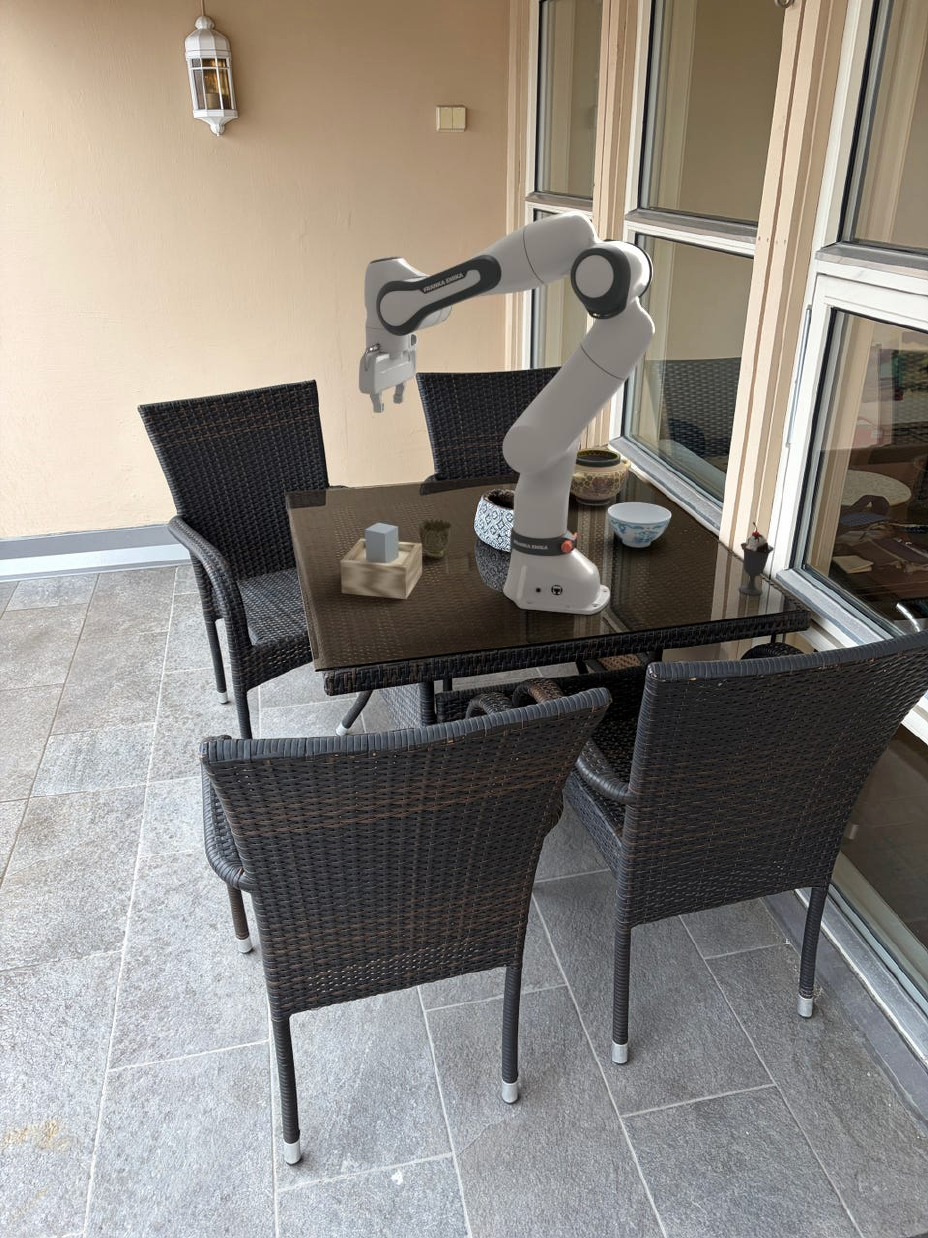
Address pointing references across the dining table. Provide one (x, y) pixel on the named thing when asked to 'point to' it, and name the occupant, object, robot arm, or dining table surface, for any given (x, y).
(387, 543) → the slate block
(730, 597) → the dining table surface
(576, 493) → the ceramic bowl
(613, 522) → the chinaware
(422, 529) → the cup
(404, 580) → the maple box
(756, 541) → the sundae
